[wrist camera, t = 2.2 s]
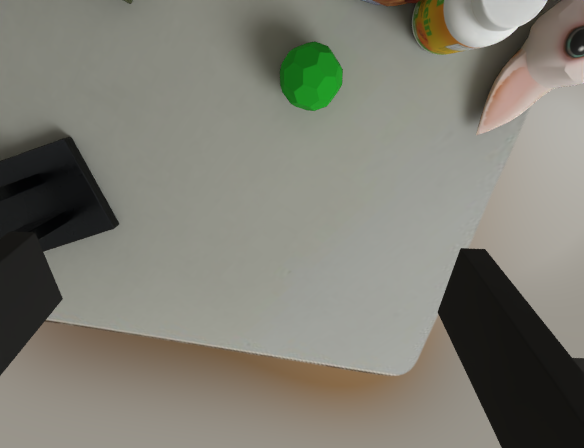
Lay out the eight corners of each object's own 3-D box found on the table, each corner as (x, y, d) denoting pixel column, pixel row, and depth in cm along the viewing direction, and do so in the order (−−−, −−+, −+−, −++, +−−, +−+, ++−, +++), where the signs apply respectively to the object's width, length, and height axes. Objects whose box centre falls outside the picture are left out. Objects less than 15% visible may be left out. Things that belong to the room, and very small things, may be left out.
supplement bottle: (414, -21, 27) (479, -75, 18) (482, -21, 27) (580, -74, 18) (406, 55, 29) (460, 41, 20) (469, 55, 29) (552, 41, 20)
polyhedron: (302, 32, 28) (306, 22, 24) (349, 70, 30) (360, 67, 25) (269, 86, 30) (266, 85, 26) (314, 119, 31) (319, 125, 27)
